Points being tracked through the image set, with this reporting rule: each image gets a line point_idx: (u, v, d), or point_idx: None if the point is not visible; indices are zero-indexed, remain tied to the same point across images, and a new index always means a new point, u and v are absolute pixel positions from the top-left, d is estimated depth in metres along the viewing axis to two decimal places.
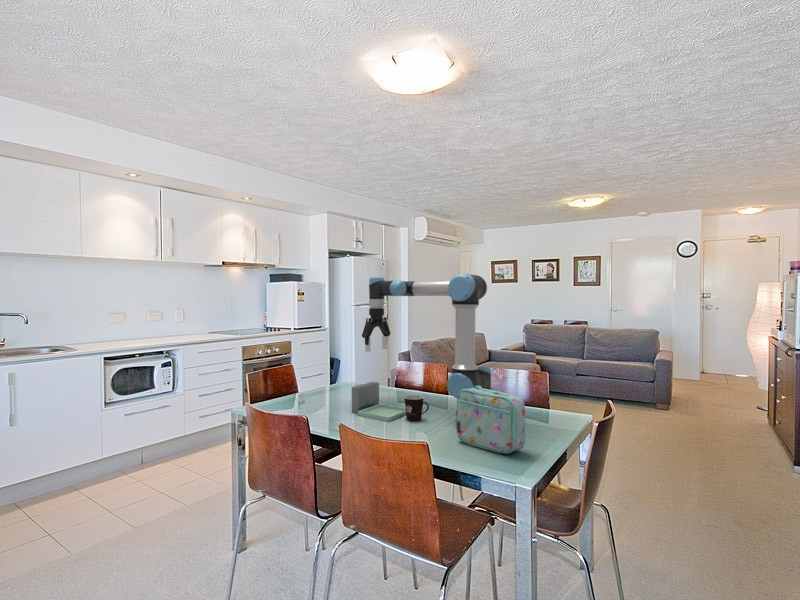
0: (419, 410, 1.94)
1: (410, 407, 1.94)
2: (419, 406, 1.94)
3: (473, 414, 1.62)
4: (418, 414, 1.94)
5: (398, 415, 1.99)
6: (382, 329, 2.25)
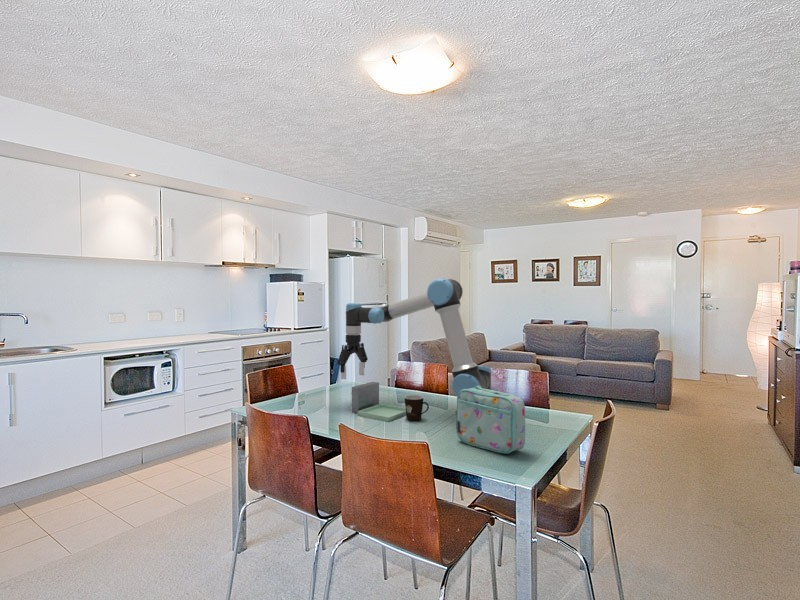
0: (419, 410, 1.94)
1: (410, 407, 1.94)
2: (419, 406, 1.94)
3: (473, 414, 1.62)
4: (418, 414, 1.94)
5: (398, 415, 1.99)
6: (359, 355, 2.23)
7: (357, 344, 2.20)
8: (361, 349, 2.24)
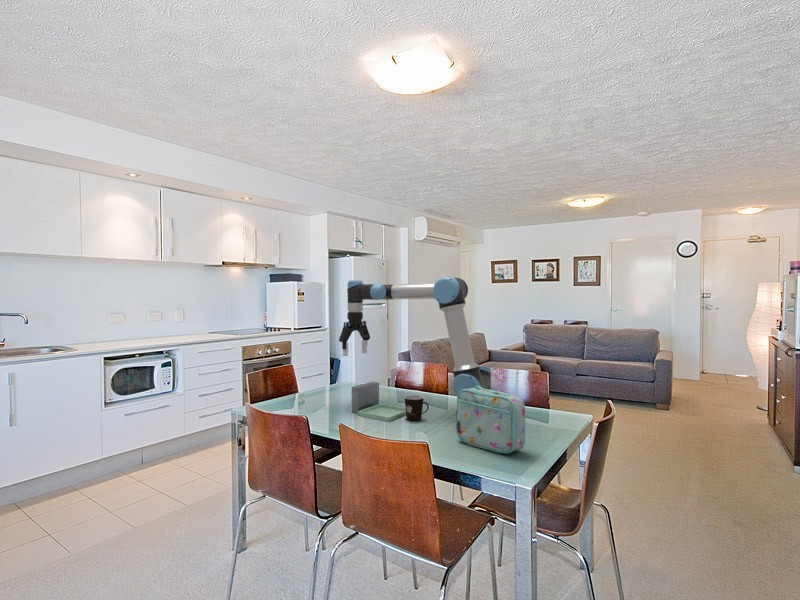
0: (419, 410, 1.94)
1: (410, 407, 1.94)
2: (419, 406, 1.94)
3: (473, 414, 1.62)
4: (418, 414, 1.94)
5: (398, 415, 1.99)
6: (361, 333, 2.22)
7: (359, 321, 2.19)
8: (363, 327, 2.23)
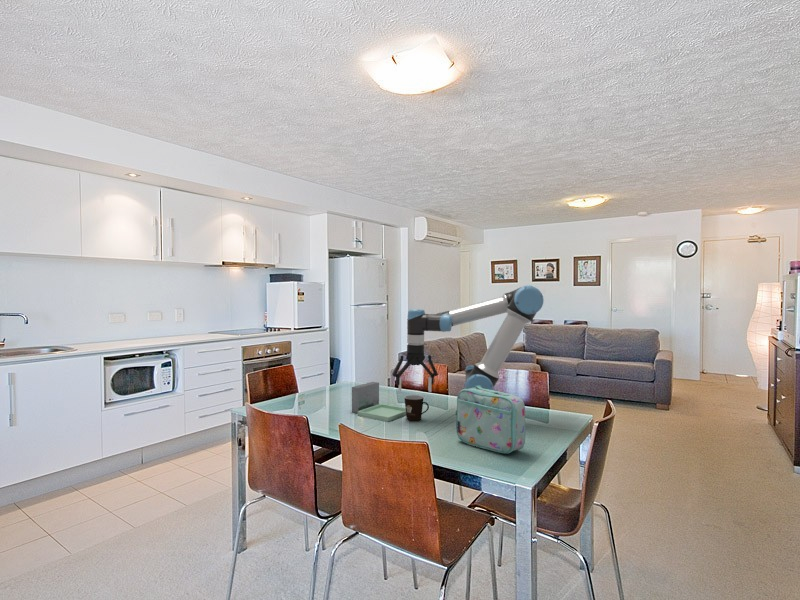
0: (419, 410, 1.94)
1: (410, 407, 1.94)
2: (419, 406, 1.94)
3: (473, 414, 1.62)
4: (418, 414, 1.94)
5: (398, 415, 1.99)
6: (424, 368, 1.96)
7: (420, 356, 1.95)
8: (429, 362, 1.97)
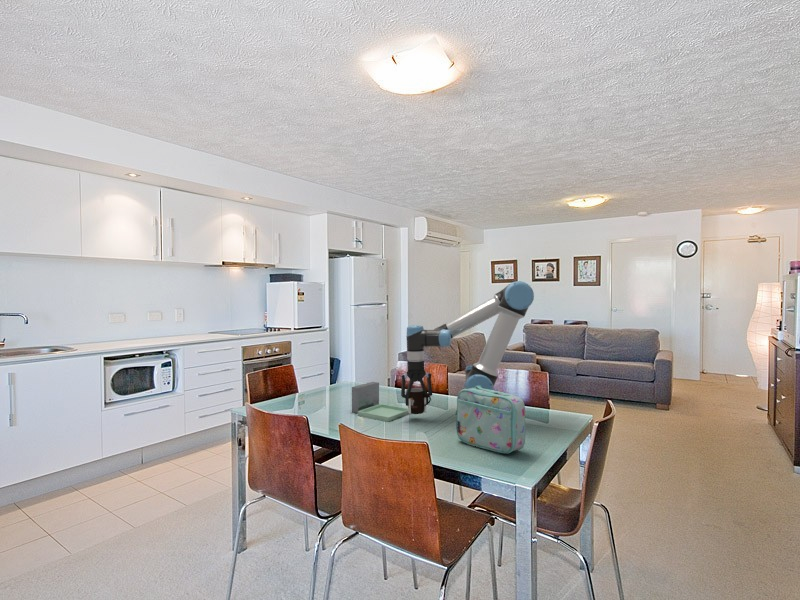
0: (421, 402, 1.94)
1: (413, 400, 1.94)
2: (421, 398, 1.94)
3: (473, 414, 1.62)
4: (420, 406, 1.94)
5: (398, 415, 1.99)
6: (421, 386, 1.96)
7: (421, 371, 1.95)
8: (427, 380, 1.96)
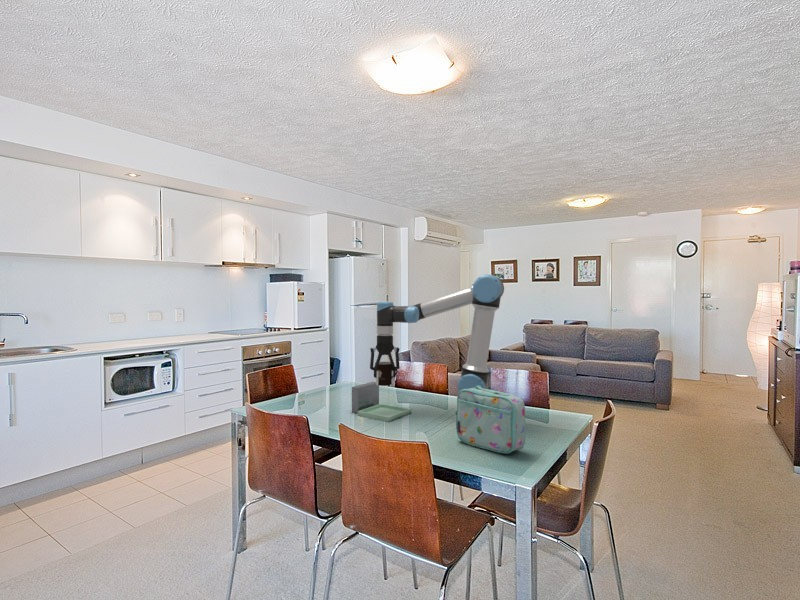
0: (389, 375, 2.04)
1: (380, 372, 2.03)
2: (388, 370, 2.04)
3: (473, 414, 1.62)
4: (388, 378, 2.04)
5: (398, 415, 1.99)
6: (390, 360, 2.06)
7: (390, 345, 2.05)
8: (395, 354, 2.06)
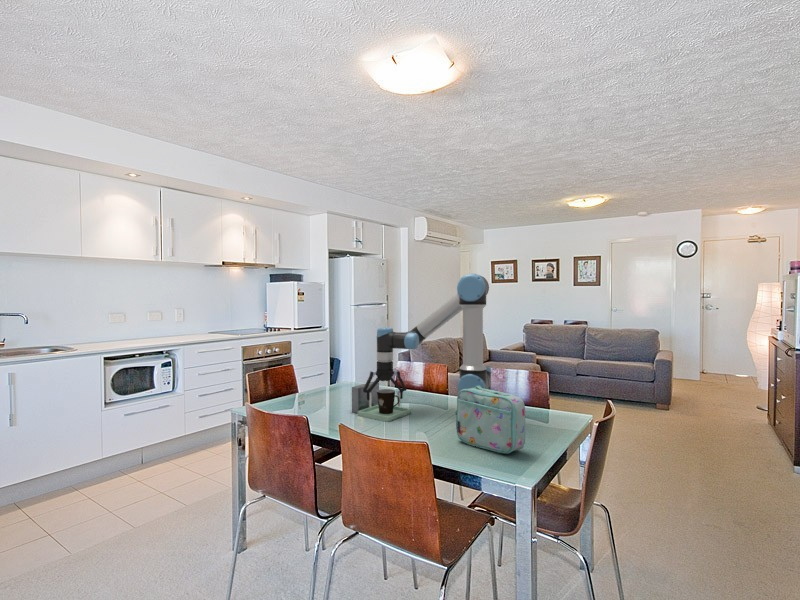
0: (390, 403, 2.04)
1: (382, 400, 2.03)
2: (390, 399, 2.04)
3: (473, 414, 1.62)
4: (390, 407, 2.04)
5: (398, 415, 1.99)
6: (394, 384, 2.06)
7: (389, 372, 2.05)
8: (398, 378, 2.06)
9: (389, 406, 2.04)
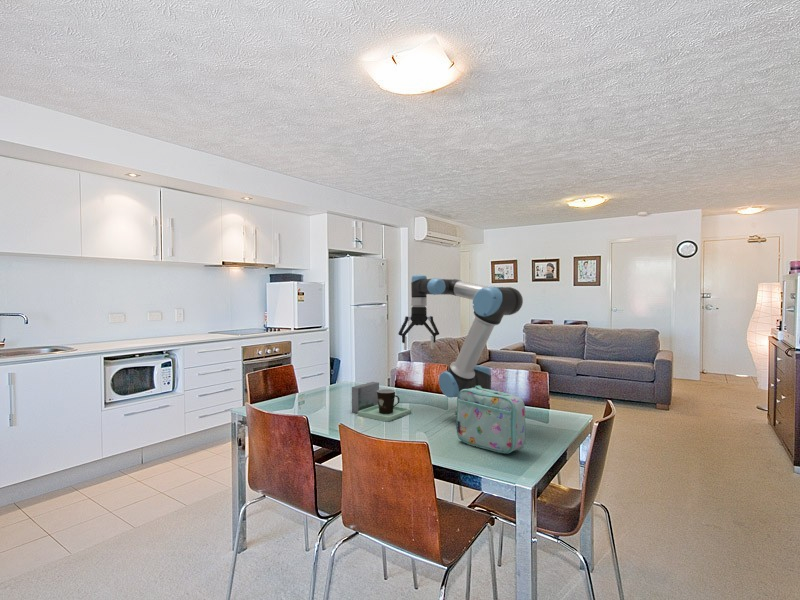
0: (391, 403, 2.04)
1: (382, 400, 2.03)
2: (390, 399, 2.04)
3: (473, 414, 1.62)
4: (390, 407, 2.04)
5: (398, 415, 1.99)
6: (427, 328, 2.19)
7: (423, 317, 2.18)
8: (431, 322, 2.19)
9: (389, 406, 2.04)
